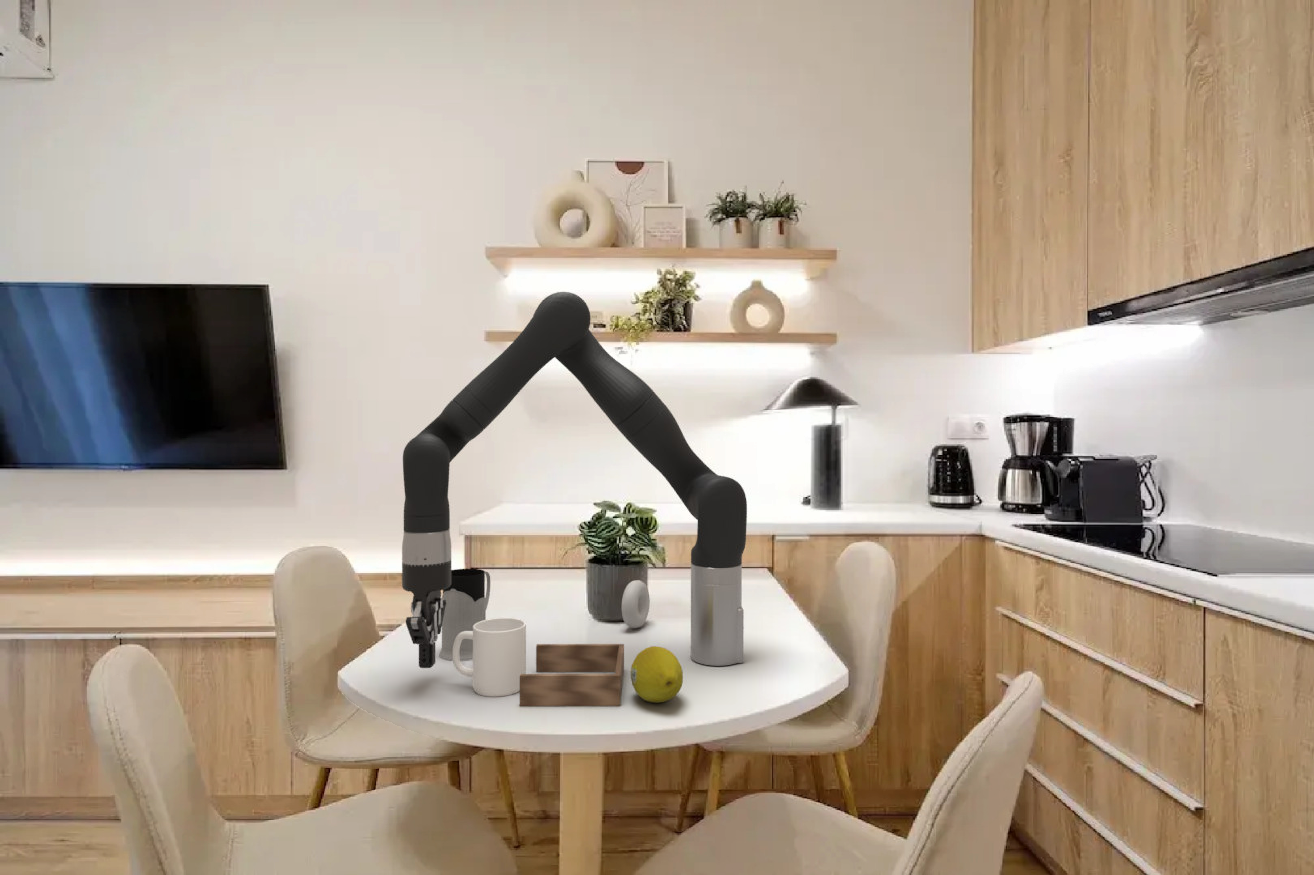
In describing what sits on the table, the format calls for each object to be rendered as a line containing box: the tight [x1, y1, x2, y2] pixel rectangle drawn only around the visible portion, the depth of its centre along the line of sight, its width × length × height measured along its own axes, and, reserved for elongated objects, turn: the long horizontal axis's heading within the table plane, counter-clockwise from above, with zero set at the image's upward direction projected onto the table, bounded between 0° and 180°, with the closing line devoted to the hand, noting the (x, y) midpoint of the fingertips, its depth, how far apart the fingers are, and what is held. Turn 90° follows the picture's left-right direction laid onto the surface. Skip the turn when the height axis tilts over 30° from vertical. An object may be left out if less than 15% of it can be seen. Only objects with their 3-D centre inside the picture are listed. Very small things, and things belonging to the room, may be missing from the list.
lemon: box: [630, 646, 684, 703], centre depth 104 cm, size 11×8×8 cm
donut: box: [621, 579, 651, 629], centre depth 144 cm, size 10×3×10 cm, turn 159°
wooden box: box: [519, 643, 625, 707], centre depth 110 cm, size 15×16×4 cm
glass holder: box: [438, 568, 491, 662], centre depth 129 cm, size 9×14×15 cm, turn 166°
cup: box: [452, 617, 527, 698], centre depth 109 cm, size 8×12×10 cm
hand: (427, 666), depth 109 cm, fingers closed
